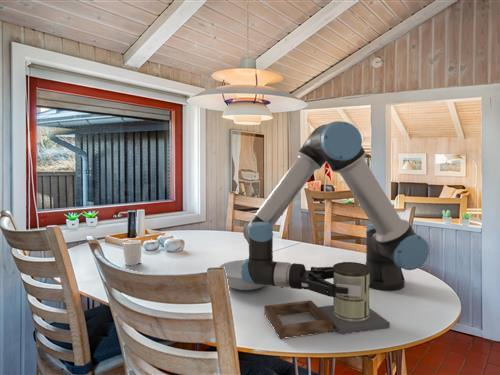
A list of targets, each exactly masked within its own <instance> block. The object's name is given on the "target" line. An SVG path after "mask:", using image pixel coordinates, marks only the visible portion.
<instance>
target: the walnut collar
mask: <svg viewBox="0 0 500 375" xmlns="http://www.w3.org/2000/svg"><path fill="white" fill-rule="evenodd" d="M319 307H320V306H318V305H316V303H315V302H313V300H302V301H292V302H286V303H285V302H284V303H277V304H275V303H274V304H268V305H267V304H266V305H264V308H263V309H264V313H263V314H264V316H265V315H266V317H267V318H268V320H269V321H270V323H271V324H272V326H273V327H274V329H275V331H276V332H277V334H278V335H279V337H280V338H285V337H292V338H294V337H293V336H300V337H302V336H301V335H307V336H309V335H308V334H314V335H316V334H315V333H321V334H323V333H322V332H328V333H331V332H330V331H333V332H334V329H333V321H332V320H331V319H330V318H329V317H328V316H327V315H326V314H325V313H324V312H323V311H322V310H321V309H320V308H319ZM297 313H298V314H304V313H309V315H310V316H313V317H314V318H315V319H316V320H317V321H316V320H315V319H314V318H313V317H312V318H313V319H314V320H313V321H304V322H296V323H287V324H284V323H283V321H281V319H280V317H279V316H277V315H282V316H287V315H286V314H290V315H296V314H297ZM266 317H265V318H266ZM267 318H266V319H267ZM268 320H267V321H268ZM269 321H268V322H269ZM270 323H269V324H270ZM271 324H270V325H271ZM272 326H271V327H272ZM273 327H272V328H273ZM274 329H273V330H274ZM275 331H274V332H275ZM276 332H275V333H276ZM277 334H276V335H277ZM278 335H277V336H278ZM279 337H278V338H279ZM280 338H279V339H280ZM285 339H286V338H285Z"/></svg>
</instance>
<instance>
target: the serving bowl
mask: <svg viewBox="0 0 500 375" xmlns="http://www.w3.org/2000/svg"><path fill="white" fill-rule="evenodd" d="M244 260H245V259H239V260H232V261H228V262H225V263H221V264H220V265H219V267H225V270H226V273H227V279H228V285H229V288H231V289H233V290H239V291H252V290H253V291H254V290H257V289H261V288H264V287H265V286H266V285H259V284H258V285H257V284H252V283H247V282H245V281H243V279H242V276H241V269H242V264H243V262H244ZM219 267H218V268H219Z"/></svg>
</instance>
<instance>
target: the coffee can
mask: <svg viewBox="0 0 500 375" xmlns="http://www.w3.org/2000/svg"><path fill="white" fill-rule="evenodd" d="M365 264H366V263H361V262H355V261H354V262H353V261H341V262H338V263H334V264H333V266H332V267H333V277H334V278H332V279H333V283H332V284H334V285H336V284H346V285H355V286H361V297H358V296H349V295H341V294H336V297H333V305H334V311H333V313H334V315H335V316H336V317H337V318H339V319H342V320H345V321H351V322H359V321H364V320H367V319H368V318H369V316H370V315H369V308H370V287H369V285H370V283H369V282H370V267H369V266H367V265H365Z"/></svg>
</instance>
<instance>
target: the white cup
mask: <svg viewBox="0 0 500 375" xmlns="http://www.w3.org/2000/svg"><path fill="white" fill-rule="evenodd" d="M122 248H123V258H124V264H125V263H126V264H128V265H127V266H129V265H133V264H138V263H140V264H141V262H142V261H141V260H142V240H140V239H139V240H138V239H131V240H130V239H129V240H126V241H123V242H122ZM138 265H139V264H138ZM133 266H134V265H133Z"/></svg>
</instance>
